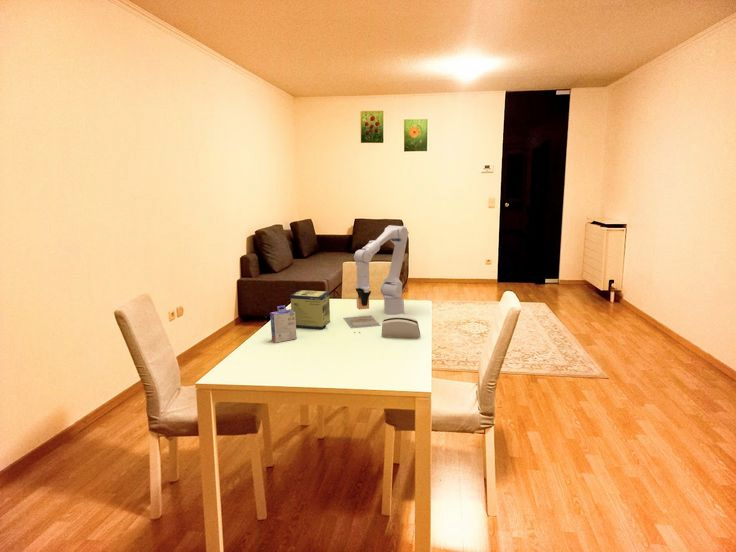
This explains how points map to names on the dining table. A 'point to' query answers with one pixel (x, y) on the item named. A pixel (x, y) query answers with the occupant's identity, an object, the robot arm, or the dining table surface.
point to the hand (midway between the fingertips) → (363, 304)
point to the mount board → (358, 318)
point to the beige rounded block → (400, 327)
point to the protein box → (311, 309)
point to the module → (359, 304)
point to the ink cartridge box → (283, 324)
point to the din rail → (363, 322)
